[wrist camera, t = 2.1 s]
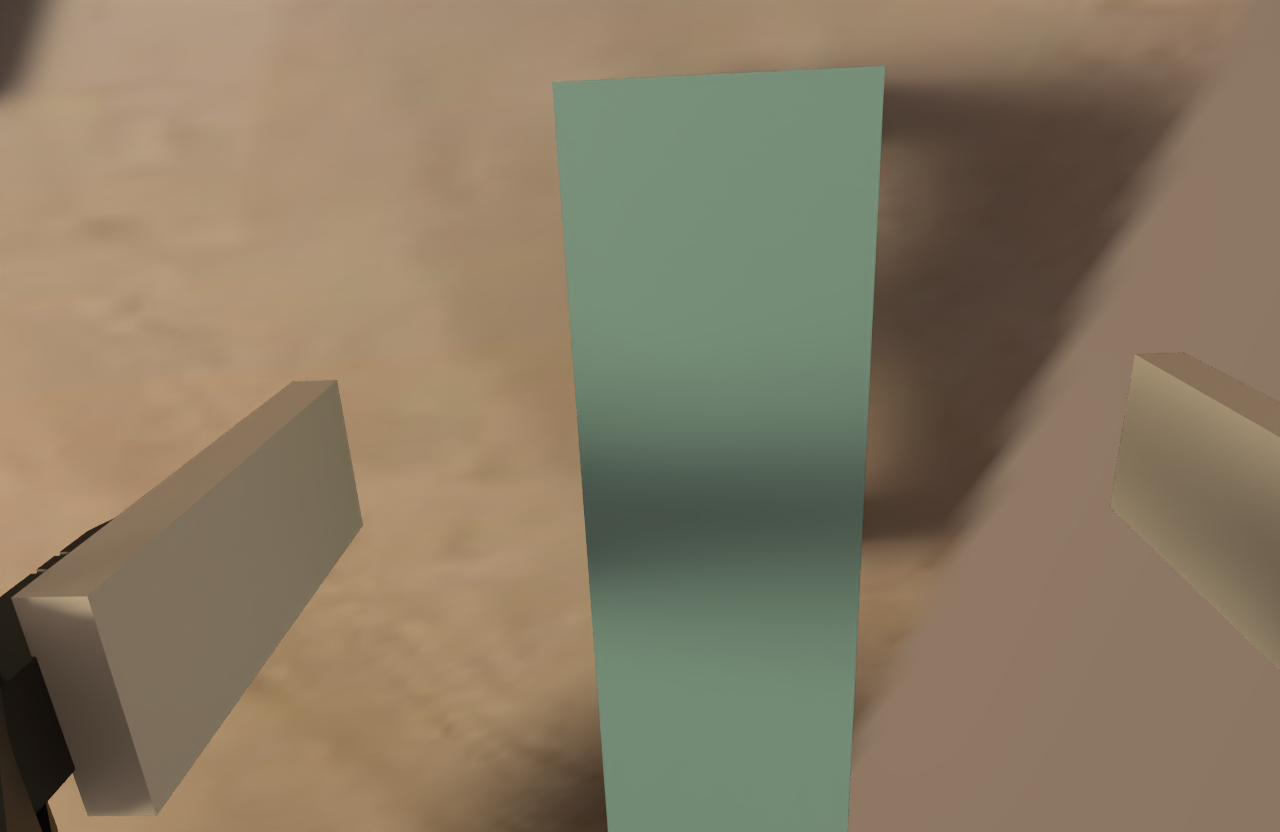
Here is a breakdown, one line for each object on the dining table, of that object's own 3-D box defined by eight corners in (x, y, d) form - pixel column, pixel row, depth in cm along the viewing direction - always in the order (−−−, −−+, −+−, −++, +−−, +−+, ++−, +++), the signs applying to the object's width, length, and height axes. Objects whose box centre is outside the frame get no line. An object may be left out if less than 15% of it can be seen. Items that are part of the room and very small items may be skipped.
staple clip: (775, 548, 24) (847, 839, 14) (630, 551, 24) (608, 842, 15) (779, 82, 20) (885, 65, 10) (605, 91, 20) (551, 82, 10)
